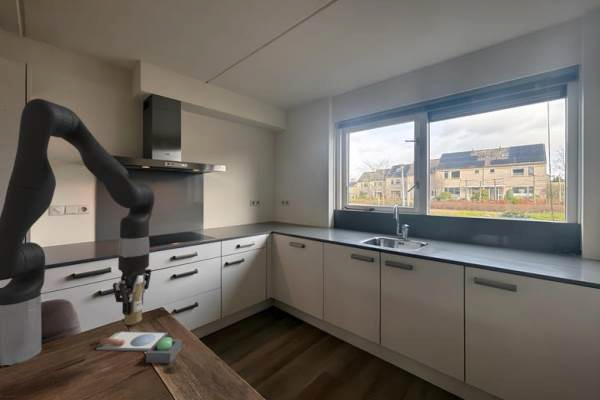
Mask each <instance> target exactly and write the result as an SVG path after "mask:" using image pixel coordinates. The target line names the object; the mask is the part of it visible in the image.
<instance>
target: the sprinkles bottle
mask: <svg viewBox="0 0 600 400" xmlns="http://www.w3.org/2000/svg"><path fill="white" fill-rule="evenodd" d="M138 277H139V278H138V282H137V283H136V284H137V286H136V291H135V293H133V297H132V313H131V314H130V315H124V320H123V323H124V324H125V325H134V324H135V325H136V324H138V323H140V322H141V321H142V320H143V317H142V316H143V315H142V314H143V313H142V312H143V305H142V282H143V276H140V275H139V276H138ZM131 289H132V288H126V290H131ZM128 296H129V293H127V297H128Z"/></svg>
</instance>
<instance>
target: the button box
mask: <svg viewBox="0 0 600 400" xmlns="http://www.w3.org/2000/svg"><path fill="white" fill-rule="evenodd" d="M159 340H160V339H159ZM182 341H183V340H182V339H180V338H178V339H177V338H175V339H174V338H172V347H171V348H170V349H169V350H168V351H160V350H157V342H158V341H157V342H156V343H155V344H154V345H153V346H152V347H151V348H150V349H149V350H148V351H147V352H146V351H145V363H147V364H149V363H153V364H154V363H157V364H171V363H172V362H173V361H174V359H176V356H178V354H179V353H180V352H181V350H182V348H183V347H182V345H183V343H182Z"/></svg>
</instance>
